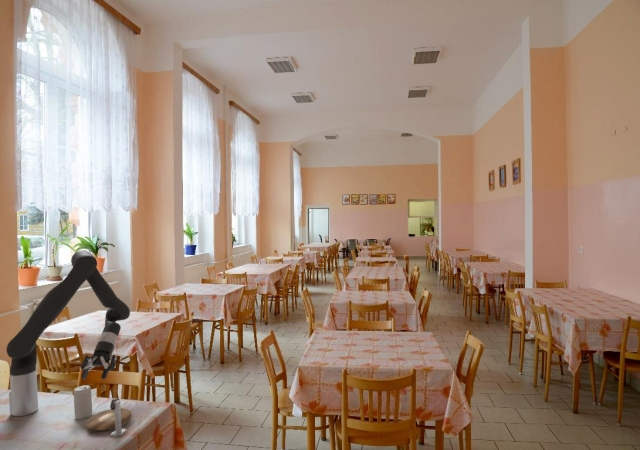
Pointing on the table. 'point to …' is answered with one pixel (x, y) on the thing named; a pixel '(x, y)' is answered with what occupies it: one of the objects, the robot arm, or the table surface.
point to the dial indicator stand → (117, 418)
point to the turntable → (107, 419)
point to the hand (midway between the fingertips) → (93, 378)
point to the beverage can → (82, 402)
